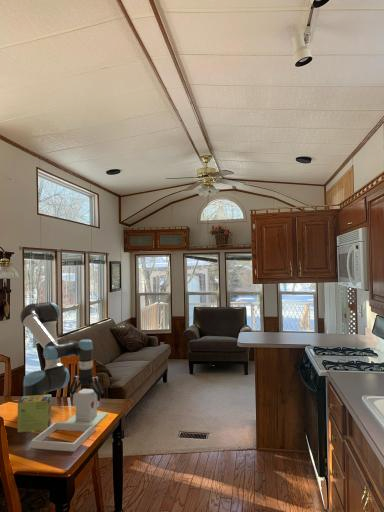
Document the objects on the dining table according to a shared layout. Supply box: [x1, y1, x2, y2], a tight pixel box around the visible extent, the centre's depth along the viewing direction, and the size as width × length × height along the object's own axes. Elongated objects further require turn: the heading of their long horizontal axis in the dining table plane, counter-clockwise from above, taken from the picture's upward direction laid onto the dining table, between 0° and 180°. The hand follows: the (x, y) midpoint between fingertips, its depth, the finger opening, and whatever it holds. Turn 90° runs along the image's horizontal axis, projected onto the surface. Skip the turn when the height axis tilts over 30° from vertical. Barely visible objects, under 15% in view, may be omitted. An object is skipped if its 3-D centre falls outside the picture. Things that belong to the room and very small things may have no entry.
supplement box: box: [75, 388, 98, 422], centre depth 216 cm, size 9×9×15 cm
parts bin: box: [30, 421, 96, 453], centre depth 192 cm, size 22×22×4 cm
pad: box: [64, 411, 109, 428], centre depth 215 cm, size 18×18×1 cm
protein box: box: [17, 394, 53, 433], centre depth 207 cm, size 10×15×16 cm
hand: (86, 406), depth 216 cm, fingers open, 13 cm apart
